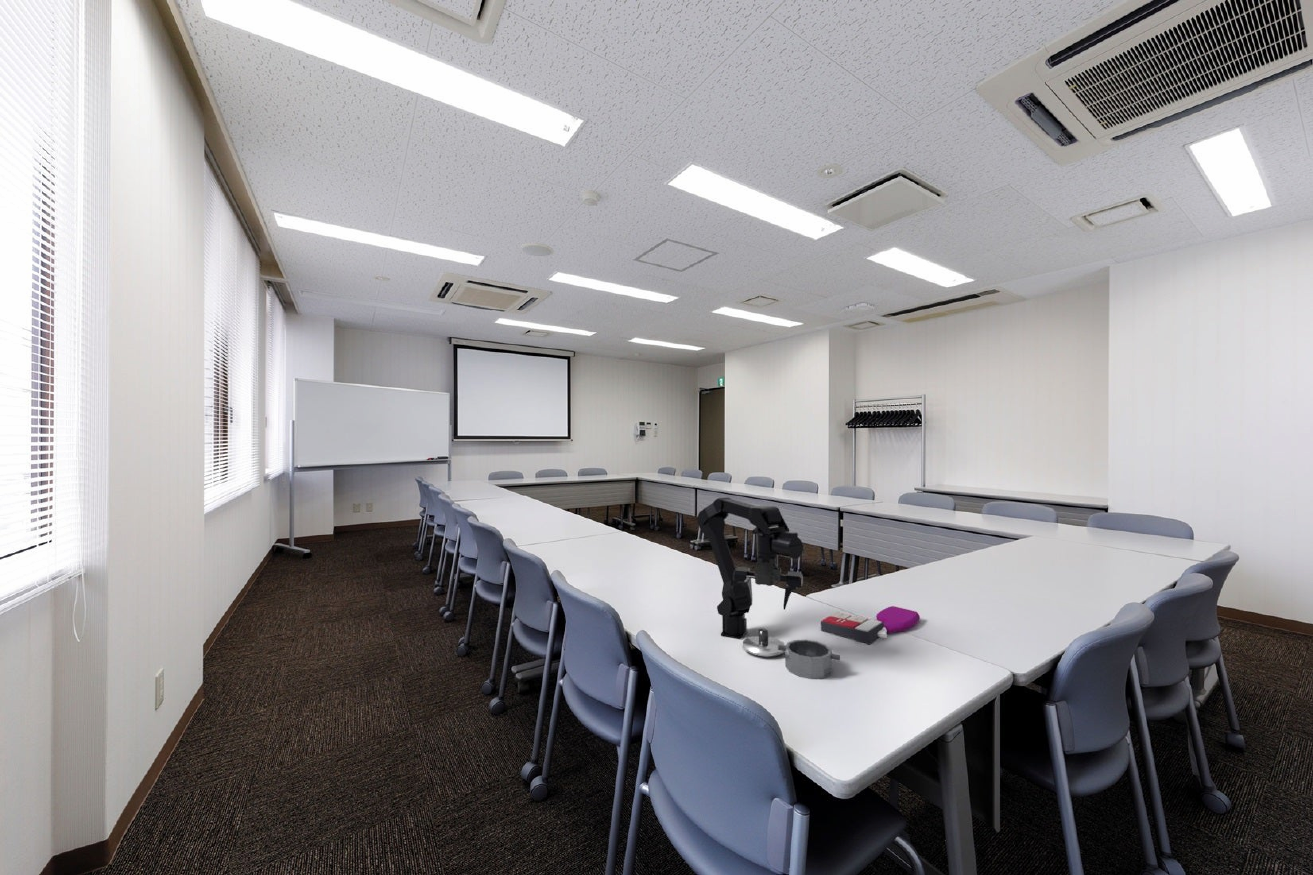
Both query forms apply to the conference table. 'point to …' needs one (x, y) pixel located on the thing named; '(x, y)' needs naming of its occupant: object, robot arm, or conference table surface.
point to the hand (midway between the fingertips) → (767, 607)
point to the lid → (762, 644)
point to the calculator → (852, 627)
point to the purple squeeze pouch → (896, 620)
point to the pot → (808, 658)
